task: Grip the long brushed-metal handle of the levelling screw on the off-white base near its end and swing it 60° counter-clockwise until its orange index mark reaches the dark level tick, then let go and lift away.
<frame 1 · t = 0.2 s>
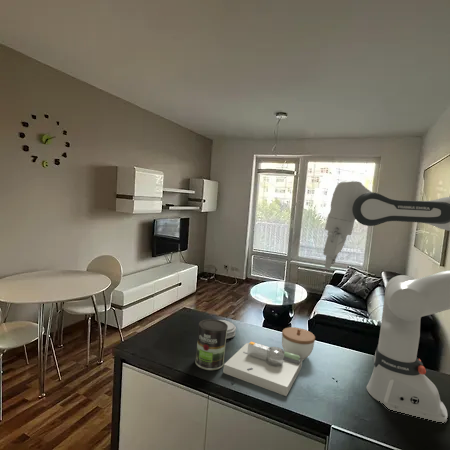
hand: (329, 265, 111), 39 cm above the worktop, tool pointing down, fingers open, 8 cm apart
coffee can: (209, 363, 113), on the worktop
lid: (220, 334, 138), on the worktop
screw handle: (265, 353, 113), point 5 cm above the worktop, hinge at 0.0°
lidded bowl: (295, 356, 124), on the worktop
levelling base: (263, 370, 111), on the worktop
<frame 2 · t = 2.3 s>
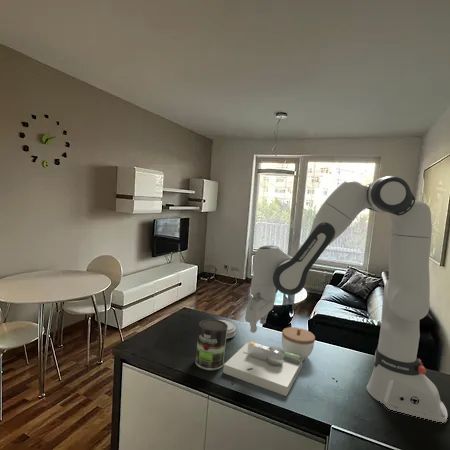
hand: (258, 327, 114), 14 cm above the worktop, tool pointing down, fingers open, 8 cm apart
nothing on the worktop moved.
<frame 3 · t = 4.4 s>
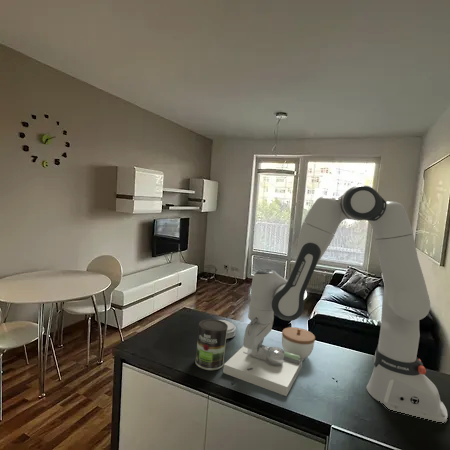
hand: (256, 351, 114), 5 cm above the worktop, tool pointing down, fingers closed on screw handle, 2 cm apart
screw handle: (265, 353, 113), point 5 cm above the worktop, hinge at 0.0°, touching gripper
everything else where it was.
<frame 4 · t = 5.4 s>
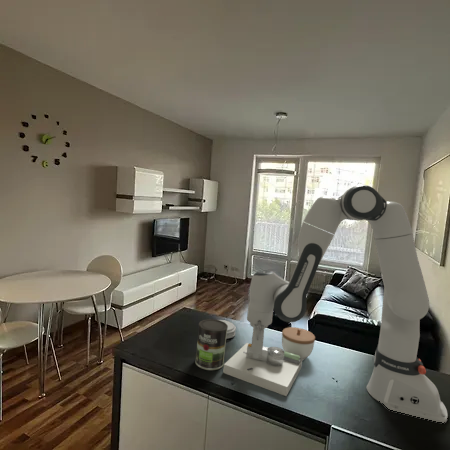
hand: (255, 353, 112), 5 cm above the worktop, tool pointing down, fingers open, 3 cm apart
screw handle: (265, 353, 112), point 5 cm above the worktop, hinge at 11.2°, touching gripper
everything else where it was.
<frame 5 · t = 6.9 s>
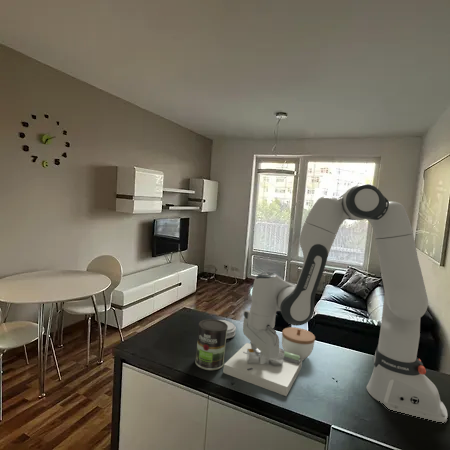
hand: (257, 358, 109), 5 cm above the worktop, tool pointing down, fingers open, 4 cm apart
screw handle: (265, 356, 111), point 5 cm above the worktop, hinge at 36.4°, touching gripper
everything else where it was.
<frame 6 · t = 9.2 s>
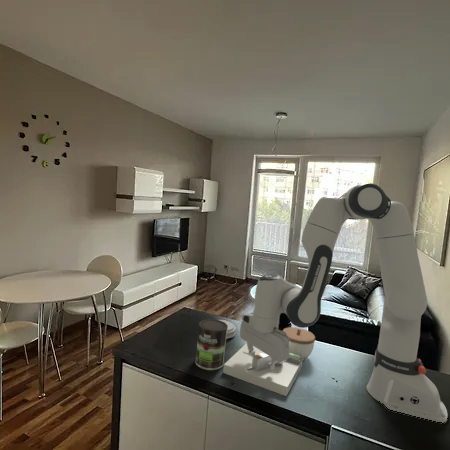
hand: (260, 361, 107), 5 cm above the worktop, tool pointing down, fingers open, 8 cm apart
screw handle: (268, 358, 109), point 5 cm above the worktop, hinge at 65.2°
everything else where it was.
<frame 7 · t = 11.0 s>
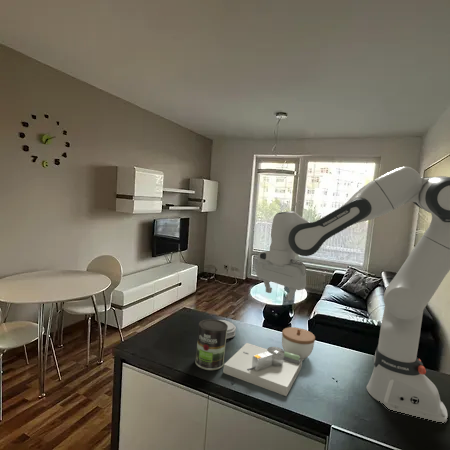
hand: (278, 296, 111), 26 cm above the worktop, tool pointing down, fingers open, 8 cm apart
nothing on the worktop moved.
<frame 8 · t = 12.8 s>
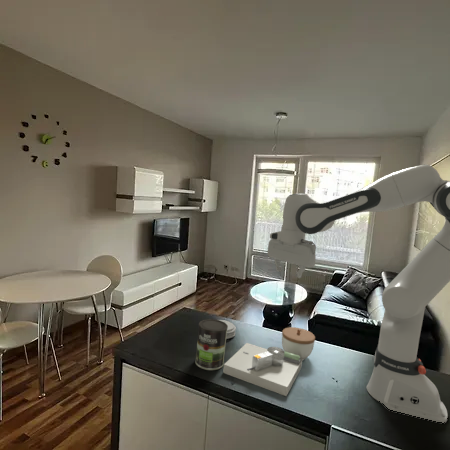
hand: (288, 274, 117), 33 cm above the worktop, tool pointing down, fingers open, 8 cm apart
nothing on the worktop moved.
at the end: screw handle at +65° (first picture: +0°); the gripper is holding nothing; coffee can moved 0.2 cm from its start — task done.
